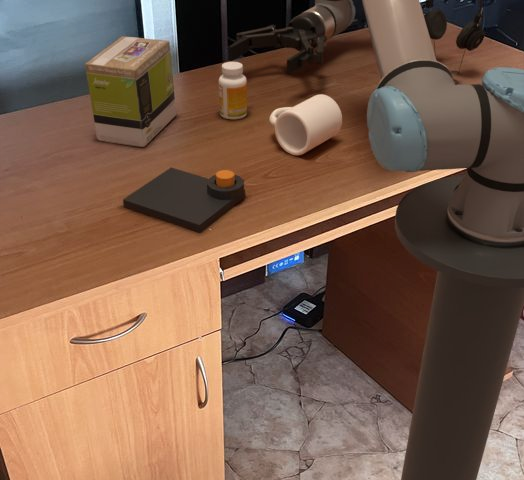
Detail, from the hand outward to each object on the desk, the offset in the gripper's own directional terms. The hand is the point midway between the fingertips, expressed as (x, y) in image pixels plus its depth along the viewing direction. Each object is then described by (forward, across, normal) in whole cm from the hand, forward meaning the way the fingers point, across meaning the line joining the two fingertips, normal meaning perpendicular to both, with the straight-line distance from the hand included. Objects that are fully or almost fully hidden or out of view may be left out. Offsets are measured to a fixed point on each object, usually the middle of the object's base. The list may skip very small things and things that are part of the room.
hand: (258, 60), depth 155 cm
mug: (+14, -17, -8) cm, 23 cm away
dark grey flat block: (+42, -12, -8) cm, 45 cm away
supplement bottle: (+10, 0, -8) cm, 12 cm away
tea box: (+24, +12, -8) cm, 28 cm away
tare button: (+38, -17, -5) cm, 42 cm away
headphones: (-33, -26, -8) cm, 42 cm away
